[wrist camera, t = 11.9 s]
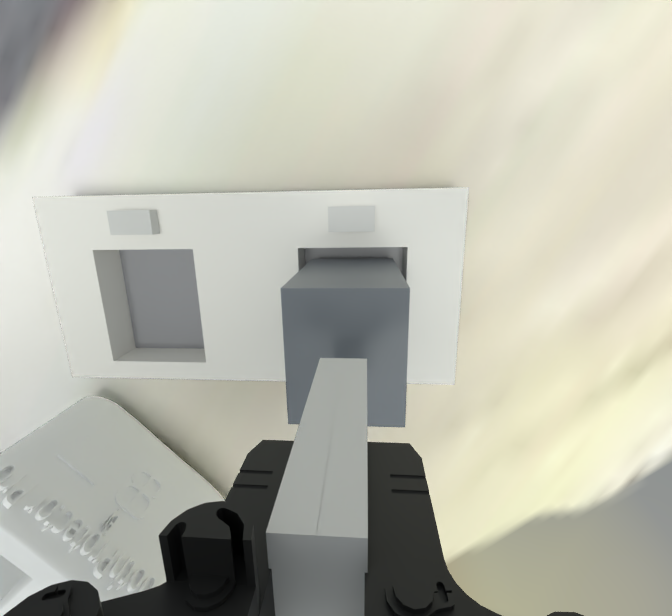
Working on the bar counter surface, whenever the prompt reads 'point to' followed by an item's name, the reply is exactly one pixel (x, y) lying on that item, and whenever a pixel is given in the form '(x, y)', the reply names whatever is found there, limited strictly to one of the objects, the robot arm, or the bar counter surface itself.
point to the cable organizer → (90, 503)
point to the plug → (348, 330)
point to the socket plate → (239, 275)
